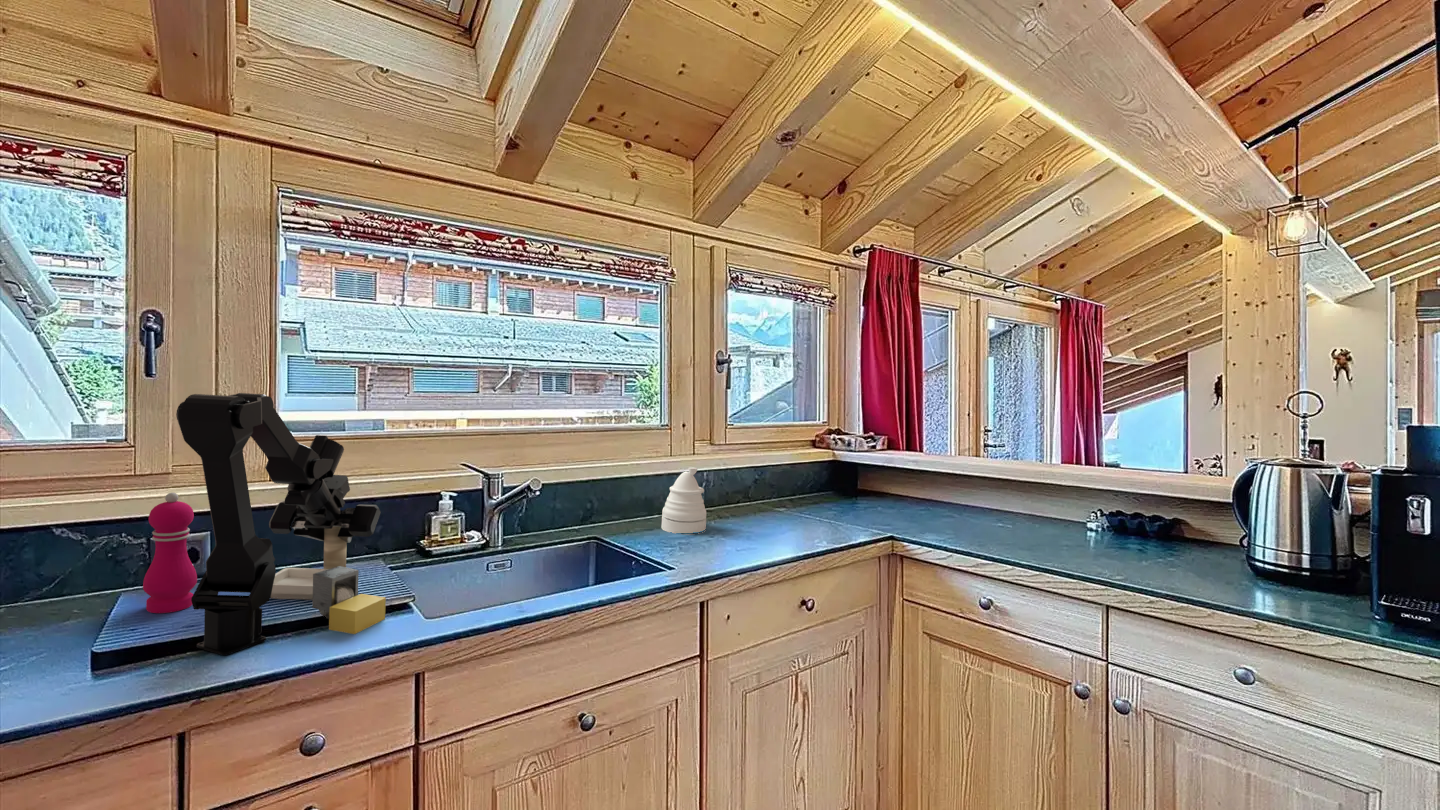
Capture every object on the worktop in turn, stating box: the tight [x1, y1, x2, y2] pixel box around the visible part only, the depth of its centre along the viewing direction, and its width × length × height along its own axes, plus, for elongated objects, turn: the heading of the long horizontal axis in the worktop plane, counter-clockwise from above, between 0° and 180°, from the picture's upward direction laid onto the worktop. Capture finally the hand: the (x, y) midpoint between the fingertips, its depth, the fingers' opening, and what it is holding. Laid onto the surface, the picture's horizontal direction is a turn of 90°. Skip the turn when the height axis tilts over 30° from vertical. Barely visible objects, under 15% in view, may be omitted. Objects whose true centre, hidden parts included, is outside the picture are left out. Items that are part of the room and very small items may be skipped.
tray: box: [270, 567, 328, 600], centre depth 127 cm, size 10×12×2 cm
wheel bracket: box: [311, 566, 360, 620], centre depth 116 cm, size 5×6×8 cm
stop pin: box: [323, 526, 348, 569], centre depth 136 cm, size 4×4×11 cm
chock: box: [328, 593, 387, 635], centre depth 113 cm, size 7×5×4 cm
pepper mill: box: [142, 492, 198, 614], centre depth 115 cm, size 7×7×20 cm
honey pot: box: [661, 466, 707, 534], centre depth 193 cm, size 13×13×18 cm
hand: (338, 540), depth 138 cm, fingers closed on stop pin, 4 cm apart
